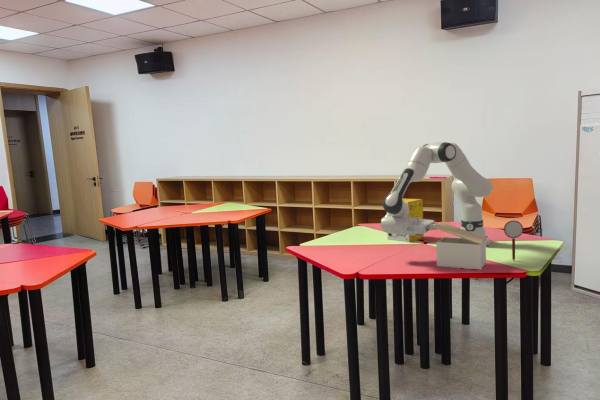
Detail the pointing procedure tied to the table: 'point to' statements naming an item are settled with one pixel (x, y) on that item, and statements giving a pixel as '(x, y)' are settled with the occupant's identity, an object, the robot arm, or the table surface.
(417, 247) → the table surface
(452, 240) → the carton
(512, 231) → the magnifying glass
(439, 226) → the lid flap
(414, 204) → the packaging box
